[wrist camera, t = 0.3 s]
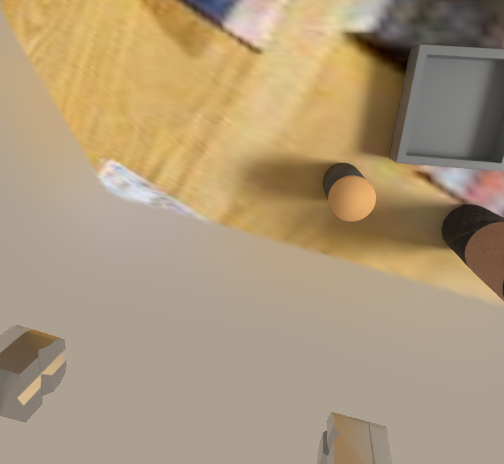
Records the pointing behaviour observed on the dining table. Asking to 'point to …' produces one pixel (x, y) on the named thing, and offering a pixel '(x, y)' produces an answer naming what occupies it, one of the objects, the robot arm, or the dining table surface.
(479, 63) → the open square box
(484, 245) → the travel mug
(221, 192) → the dining table surface
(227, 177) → the dining table surface
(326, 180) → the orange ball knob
